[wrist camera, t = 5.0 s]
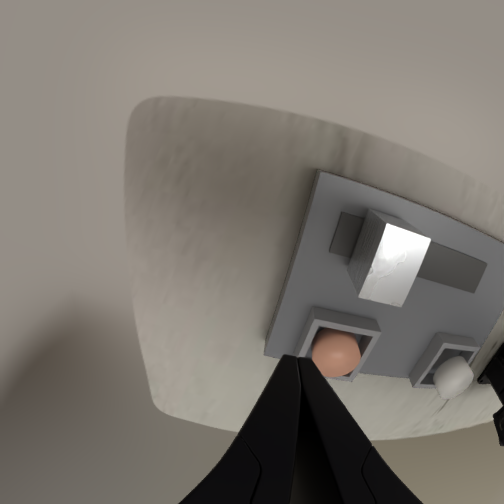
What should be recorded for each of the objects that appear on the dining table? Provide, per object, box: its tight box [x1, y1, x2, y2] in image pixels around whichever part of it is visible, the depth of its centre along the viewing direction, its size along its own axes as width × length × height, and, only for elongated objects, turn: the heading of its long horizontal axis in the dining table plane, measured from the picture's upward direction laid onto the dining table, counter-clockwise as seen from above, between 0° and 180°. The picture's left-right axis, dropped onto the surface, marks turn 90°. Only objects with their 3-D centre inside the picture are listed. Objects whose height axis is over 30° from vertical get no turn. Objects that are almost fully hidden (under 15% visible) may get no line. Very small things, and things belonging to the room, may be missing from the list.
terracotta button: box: [311, 328, 361, 377], centre depth 20 cm, size 4×4×2 cm
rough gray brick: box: [347, 208, 431, 307], centre depth 16 cm, size 3×4×4 cm
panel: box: [264, 169, 504, 388], centre depth 19 cm, size 22×15×4 cm
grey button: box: [433, 356, 474, 399], centre depth 18 cm, size 4×4×2 cm
